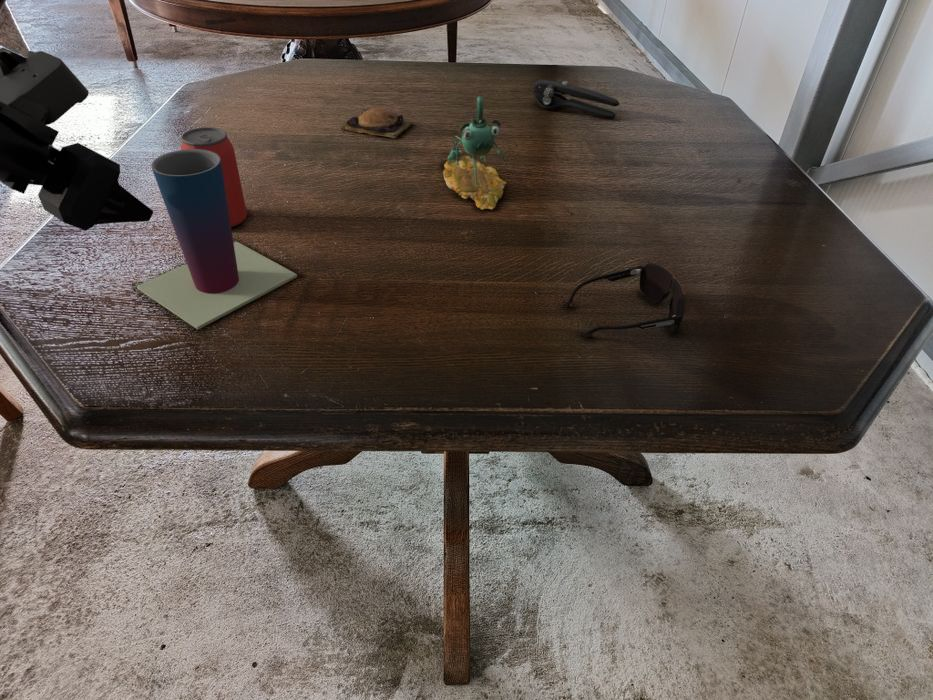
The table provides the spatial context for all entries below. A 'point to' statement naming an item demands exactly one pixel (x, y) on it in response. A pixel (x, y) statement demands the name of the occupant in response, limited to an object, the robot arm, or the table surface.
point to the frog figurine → (475, 163)
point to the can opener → (552, 100)
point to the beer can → (223, 147)
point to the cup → (199, 215)
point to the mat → (207, 307)
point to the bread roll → (378, 123)
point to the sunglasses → (649, 295)
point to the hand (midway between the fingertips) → (124, 201)
